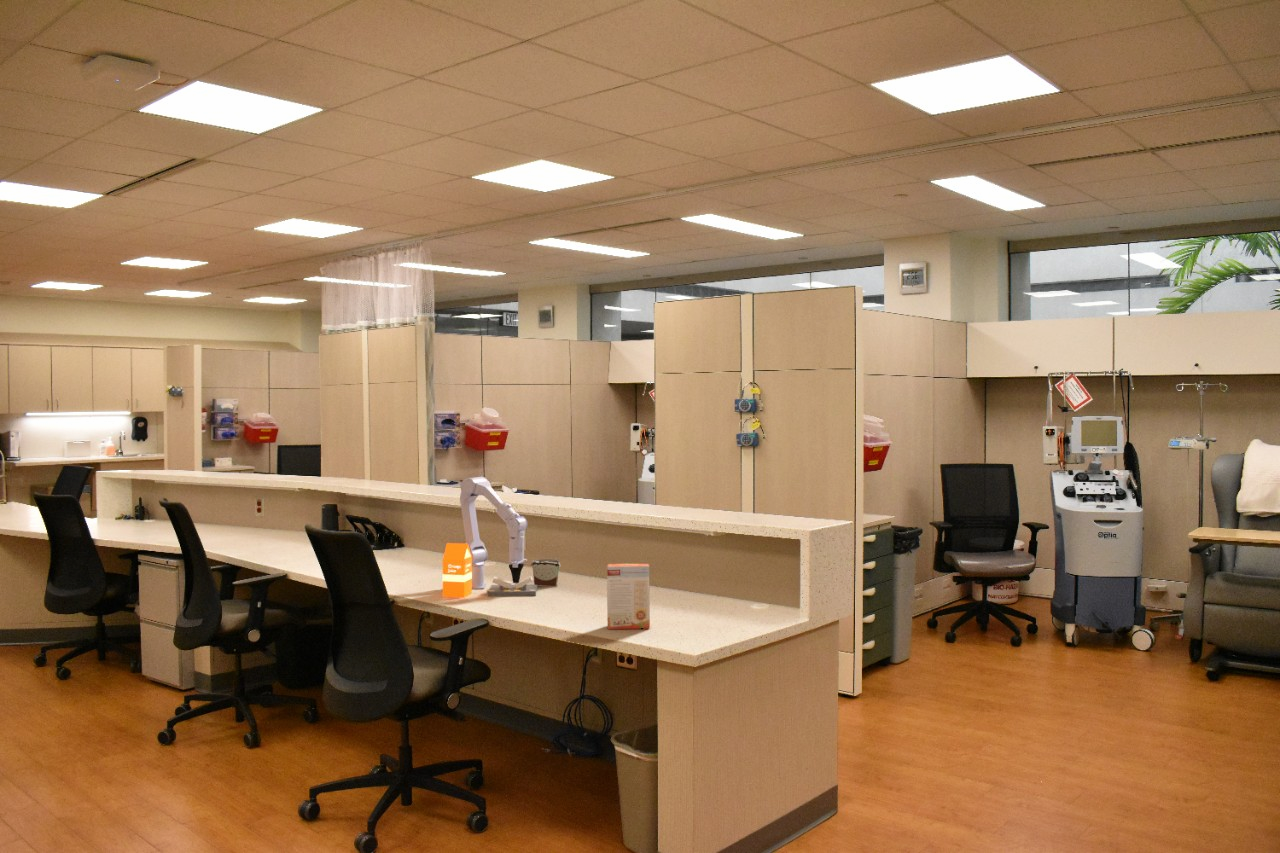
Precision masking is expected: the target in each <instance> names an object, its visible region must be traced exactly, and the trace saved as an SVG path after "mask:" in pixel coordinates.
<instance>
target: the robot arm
mask: <svg viewBox="0 0 1280 853" xmlns="http://www.w3.org/2000/svg"><path fill="white" fill-rule="evenodd" d="M459 486H460V495H459V501H460V502H459V503H460V508H461V509H460V510H461V517H462V522H463V530H464V537H465V543H464V544H468V546H469V550H470V553H471V556H472V590H475V589H476V590H477V589H479V590H481V589H482V590H483V589H485V587H486V585H487V584H486V583H485V564H486V561H487V560H488V556H489V555H488V554H489V553H488V550H487V548H486V546H485V543H484V542H483V541H482V539H481V538H480V531H479V525H478V518H477V511H476V503H475V501H476V499H477V498H478V497H479V496H483V497H484V498H486V499H487V500H488V502H489V503H490V504H491V505H493V506H494V507H495V508H496V514H497V515H498V516H499V517H500V519H501V520H503V522H504V523H505V524H506V529H507V531H508V536H509V548H508V550H509V551H508V552H509V553H508V554H509V555H508V562H509V563H510V564H508V568H509V570H510V573H511V576H512V577H511V578H512V579H511V581H512V583H513V584H515V583H519V581H521V579H520V578H521V573H522V570H523V569H524V566H525V564H524V563H525V562H527V561H528V559H527V558H525V531H526V530H527V529H528V526H529V525H528V520H527V519H526V517H525V516H521V515H520V514H519V513H518V512H516V510H515V509H514V507H513V506H512V505H511V503H508V502H503V501H502V499H501V497H499V495H498V494H497V493H496V491H495V490H494V489H493V487H492V486H491V482H490V481H489V480H488V479H487V478H486V477H484V476H476V477H465V479H463V480H462V482H461V483H460V485H459Z"/></svg>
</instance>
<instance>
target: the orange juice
mask: <svg viewBox="0 0 1280 853" xmlns="http://www.w3.org/2000/svg"><path fill="white" fill-rule="evenodd" d="M472 590H473V589H472V556H471V553H470V550H469V546H468V544H465V543H452V542H446V545H445V549H444V552H443V558H442V597H443V598H463V599H465V598H466V597H468V596H470V595H472V593H473V591H472Z"/></svg>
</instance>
